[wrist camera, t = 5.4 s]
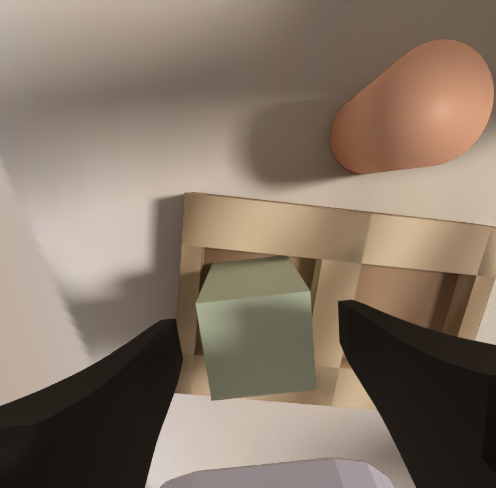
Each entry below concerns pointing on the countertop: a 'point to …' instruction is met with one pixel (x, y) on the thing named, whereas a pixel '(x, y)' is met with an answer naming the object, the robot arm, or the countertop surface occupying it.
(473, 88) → the terracotta dowel
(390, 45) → the countertop surface
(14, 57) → the countertop surface
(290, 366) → the sage cube
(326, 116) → the countertop surface
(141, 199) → the countertop surface
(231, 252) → the pocket board
